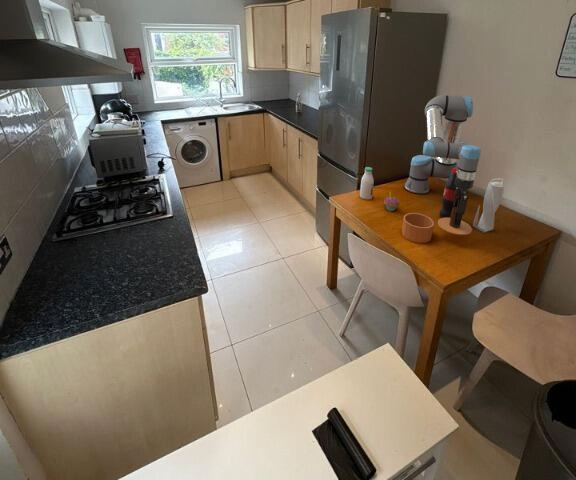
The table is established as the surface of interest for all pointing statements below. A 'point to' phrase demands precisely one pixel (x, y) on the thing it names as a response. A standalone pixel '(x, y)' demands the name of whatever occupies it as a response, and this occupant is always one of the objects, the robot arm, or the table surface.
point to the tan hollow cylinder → (417, 227)
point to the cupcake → (391, 203)
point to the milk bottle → (367, 184)
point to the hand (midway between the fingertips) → (455, 221)
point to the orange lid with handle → (454, 229)
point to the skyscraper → (489, 206)
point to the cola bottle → (449, 196)
